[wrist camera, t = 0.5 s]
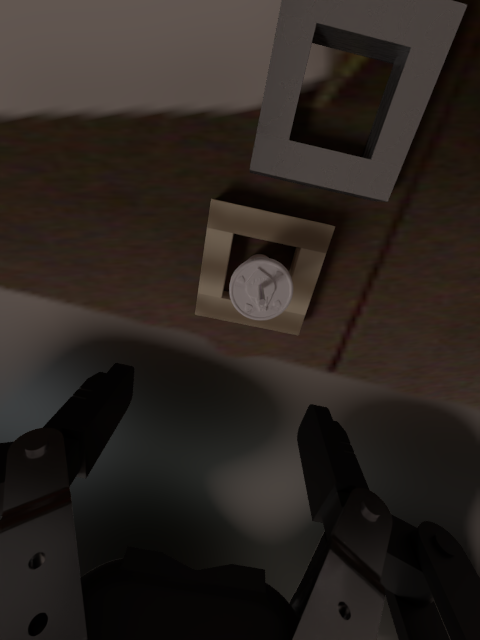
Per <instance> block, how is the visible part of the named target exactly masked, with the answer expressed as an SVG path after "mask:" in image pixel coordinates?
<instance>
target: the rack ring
mask: <svg viewBox="0 0 480 640" xmlns="http://www.w3.org/2000/svg"><path fill="white" fill-rule="evenodd" d="M466 7H467V4H463V3H460V2H456V1H452V0H282V2H281V7H280V13H279V18H278V23H277V28H276V34H275V39H274V45H273V49H272V56H271V60H270V65H269V71H268V76H267V82H266V86H265V92H264V97H263V102H262V107H261V113H260V118H259V123H258V128H257V134H256V139H255V144H254V150H253V155H252V160H251V165H250V173H254V174H258V175H262V176H267V177H271V178H275V179H280V180H284V181H288V182H293V183H297V184H301V185H306V186H310V187H315V188H319V189H323V190H328V191H332V192H336V193H341V194H345V195H349V196H354V197H358V198H363V199H367V200H371V201H381V202H388V200H389V197H390V195H391V192H392V190H393V187H394V185H395V182H396V180H397V177H398V175H399V172H400V170H401V167H402V165H403V163H404V160H405V158H406V155H407V153H408V150H409V148H410V145H411V143H412V140H413V138H414V135H415V133H416V130H417V128H418V126H419V123H420V121H421V118H422V116H423V113H424V111H425V108H426V106H427V103H428V101H429V98H430V96H431V93H432V91H433V89H434V86H435V84H436V81H437V79H438V76H439V74H440V71H441V69H442V66H443V64H444V61H445V59H446V56H447V54H448V52H449V49H450V47H451V44H452V42H453V39H454V37H455V34H456V32H457V29H458V27H459V24H460V22H461V19H462V17H463V15H464V12H465V10H466ZM312 43H315V44H319V45H322V46H326V47H330V48H334V49H338V50H342V51H346V52H350V53H354V54H357V55H361V56H365V57H369V58H373V59H377V60H381V61H385V62H389V63H393V64H394V65H393V68H392V71H391V74H390V77H389V80H388V83H387V85H386V88H385V91H384V94H383V97H382V100H381V103H380V106H379V109H378V112H377V115H376V117H375V120H374V123H373V126H372V129H371V132H370V135H369V138H368V141H367V144H366V147H365V149H364V152H363V155H362V157H358V156H354V155H349V154H345V153H341V152H337V151H333V150H328V149H324V148H320V147H316V146H311V145H307V144H303V143H299V142H295V141H290V140H289V137H290V133H291V129H292V125H293V120H294V116H295V112H296V108H297V103H298V99H299V95H300V91H301V86H302V82H303V78H304V74H305V69H306V65H307V61H308V57H309V52H310V48H311V44H312Z"/></svg>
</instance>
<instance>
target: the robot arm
mask: <svg viewBox="0 0 480 640" xmlns="http://www.w3.org/2000/svg"><path fill="white" fill-rule="evenodd" d="M133 385H134V367H133V366H129V365H124V364H119V363H115V364H114V365H113V366H112V367H111V369H110V370H109V371H108V372H107V373H103V372H99V373H97V374H95V375H93V376H92V377H90V378H88V379H87V380H86V381H85V382H84V383H83V385H82V386H81V387H80V389H78V390H77V391H76V392H75V393H74V394H73V396H72V397H71V398H70V399H69V400H68V401H67V402H66V403H65V404H64V405H63V406H62V407H61V409H59V411H58V412H57V413H56V414H55V415H54V416H53V417H52V418H51V419H50V420H49V422H48V423H47V424H46V425H45V426H44V427H43V428H39V429H35V430H32V431H29V432H27V433H25V434H23V435H22V436H20V437H19V438H17V440H15V441H14V442H8V443H0V516H2V519H1V520H0V640H377V634H378V630H379V625H380V620H381V615H382V609H383V604H384V599H385V595H386V598H387V602H388V605H389V608H390V612H391V615H392V618H393V622H394V625H395V628H396V632H397V635H398V638H399V640H450V639H451V640H480V578H479V576H478V575H477V573H476V571H475V569H474V568H473V566H472V564H471V562H470V560H469V559H468V557H467V555H466V553H465V552H464V550H463V548H462V547H461V545H460V544H459V543H458V542H457V540H456V539H455V538H454V537H453V536H452V535H451V534H450V533H449V532H448V531H446V530H445V529H444V528H442V527H441V526H439V525H437V524H435V523H433V522H428V521H426V522H425V521H424V522H422V523H421V524H420V525H419V526H418V527H417V528H416V527H414V526H412V525H410V524H408V523H406V522H405V521H403V520H401V519H399V518H397V517H395V516H393V515H392V514H391V513H390V511H389V509H388V507H387V506H386V505H385V503H384V502H383V501H382V500H381V499H380V498H379V497H378V496H377V495H376V494H375V493H373V492H372V491H370V490H369V488H368V485H367V483H366V480H365V478H364V476H363V473H362V471H361V468H360V466H359V463H358V461H357V458H356V456H355V454H354V451H353V448H352V446H351V445H350V441H349V439H348V436H347V434H346V432H345V430H344V429H343V428H342V427H341V425H340V424H339V423H338V422H337V421H333V419H332V417H331V414H330V411H329V409H328V408H327V407H322V406H317V405H312V404H311V405H309V407H308V409H307V411H306V413H305V415H304V418H303V420H302V422H301V424H300V426H299V429H298V435H297V441H298V447H299V452H300V458H301V463H302V468H303V474H304V479H305V484H306V489H307V495H308V500H309V505H310V511H311V516H312V521H315V522H321V523H323V525H324V529H325V532H324V533H323V535H322V537H321V539H320V541H319V543H318V545H317V548H316V550H315V552H314V554H313V556H312V558H311V561H310V563H309V565H308V567H307V569H306V571H305V574H304V576H303V578H302V580H301V582H300V584H299V586H298V588H297V590H296V591H295V593H294V595H293V597H292V599H291V600H290V602H289V603H288V601H287V600H286V599H285V598H284V597H283V596H282V595H281V594H280V593H279V592H278V591H277V590H275V589H274V588H273V587H271V586H270V585H268V584H267V583H265V570H263V569H257V568H252V567H245V566H239V565H234V564H230V565H225V566H219V567H213V568H208V569H202V570H194V569H192V568H190V567H188V566H186V565H184V564H182V563H181V562H179V561H177V560H175V559H173V558H172V557H170V556H168V555H166V554H164V553H162V552H157V551H151V550H145V549H139V548H134V547H127V550H126V553H125V555H124V558H122V559H117V560H113V561H110V562H107V563H105V564H103V565H100V566H98V567H96V568H94V569H93V570H91V571H89V572H88V573H86V574H85V575H84V576H82V577H81V578H80V571H79V561H78V553H77V544H76V536H75V528H74V518H73V511H72V501H71V494H70V488H69V487H70V485H71V484H72V482H73V480H74V479H75V477H80V478H87V476H88V474H89V473H90V471H91V469H92V468H93V466H94V464H95V463H96V461H97V459H98V458H99V456H100V454H101V452H102V451H103V449H104V448H105V446H106V444H107V443H108V441H109V439H110V437H111V436H112V434H113V432H114V431H115V429H116V427H117V426H118V424H119V422H120V421H121V419H122V417H123V416H124V414H125V412H126V411H127V409H128V407H129V405H130V403H131V400H132V396H133ZM434 600H435V603H436V605H437V607H438V610H439V612H440V615H441V617H442V619H443V622H444V624H445V626H446V629H447V631H448V634H449V636H450V639H449V637H448V634H447V632H446V630H445V627H444V625H443V622H442V620H441V618H440V615H439V613H438V611H437V608H436V605H435V603H434Z"/></svg>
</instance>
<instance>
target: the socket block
mask: <svg viewBox="0 0 480 640" xmlns="http://www.w3.org/2000/svg"><path fill="white" fill-rule="evenodd" d="M334 229H335V226H332V225H328V224H324V223H320V222H315V221H311V220H306V219H302V218H297V217H293V216H288V215H284V214H279V213H275V212H270V211H266V210H261V209H257V208H252V207H248V206H243V205H239V204H234V203H230V202H225V201H221V200H216V199H211V204H210V211H209V218H208V225H207V232H206V239H205V247H204V254H203V261H202V268H201V275H200V282H199V289H198V296H197V303H196V311H195V315H200V316H205V317H210V318H215V319H220V320H225V321H230V322H235V323H240V324H245V325H250V326H255V327H260V328H265V329H270V330H274V331H279V332H284V333H289V334H294V335H299V332H300V329H301V326H302V323H303V320H304V317H305V314H306V311H307V308H308V306H309V303H310V300H311V297H312V294H313V291H314V288H315V285H316V282H317V279H318V276H319V273H320V270H321V267H322V264H323V261H324V258H325V256H326V253H327V250H328V247H329V244H330V241H331V238H332V235H333V232H334ZM234 234H239V235H243V236H248V237H253V238H257V239H262V240H266V241H271V242H276V243H280V244H285V245H289V246H294V247H296V249H295V253H294V256H293V260H292V263H291V267H290V270H289V274H290V276H291V278H292V282H293V296H292V300H291V302H290V304H289V305H288V307H287V308H286V309H285V310H284V311H283V312H282V313H281V314H280V315H278V316H276V317H274V318H272V319H268V320H253V319H249V318H247V317H245V316H243V315H242V314H240V313H239V312H238V311H237V310H236V309H235V307H234V306H233V304H232V302H231V299H230V294H229V292H228V291H224V286H225V280H226V275H227V269H228V264H229V259H230V253H231V248H232V242H233V237H234Z"/></svg>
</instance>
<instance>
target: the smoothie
mask: <svg viewBox="0 0 480 640" xmlns="http://www.w3.org/2000/svg"><path fill="white" fill-rule="evenodd" d="M229 294H230V299H231V302H232V304H233V306H234V307H235V309H236V310H237V311H238V312H239V313H240V314H242V315H243V316H245V317H247V318H249V319H253V320H268V319H272V318H274V317H276V316H278V315H280V314H281V313H282V312H283V311H284V310H285V309H286V308H287V307H288V305H289V304H290V302H291V300H292V296H293V282H292V278H291V276H290V274H289V272H288V270H287V269H286V268H285V267H284V266H283V265H282V264H281V263H280V262H278V261H276V260H274V259H271V258H268V257H267V256H265V255H263V254H255V255H253V256H251V257H250V258H249V259H248V260H247V261H245V262H244V263H242V264H241V265H240V266H239V267H238V268H237V269H236V270H235V271H234V273H233V275H232V277H231V280H230V284H229Z"/></svg>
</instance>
